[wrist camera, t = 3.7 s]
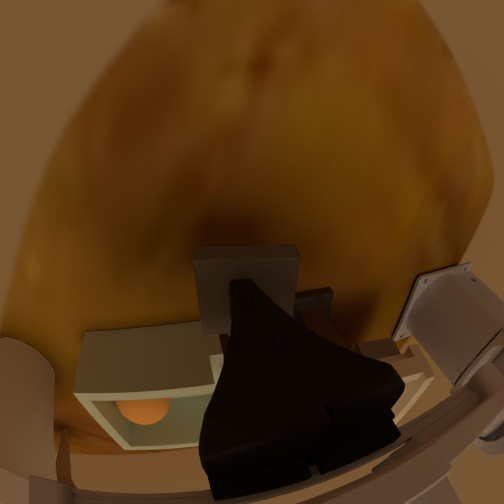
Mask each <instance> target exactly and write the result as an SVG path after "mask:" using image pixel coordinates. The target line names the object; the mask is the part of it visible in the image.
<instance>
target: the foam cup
mask: <svg viewBox="0 0 504 504" xmlns="http://www.w3.org/2000/svg"><path fill="white" fill-rule="evenodd" d="M54 381H55V371H54V369H53V368H52V366H51V365H50V363H49V361H48V360H47V359H46V358H45V357H44V356H42V355H41V354H40V353H39V352H38V351H37V350H36V349H34V348H33V347H31V346H29V345H27V344H25V343H24V342H22V341H20V340H16V339H12V338H9V337H4V338H0V504H29V476H30V475H33V476H38V477H42V478H47V479H51V480H56V481H57V474H56V463H55V450H54V387H55V384H54Z"/></svg>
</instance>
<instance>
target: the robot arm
mask: <svg viewBox="0 0 504 504" xmlns="http://www.w3.org/2000/svg"><path fill="white" fill-rule="evenodd" d="M471 268H472V263H471V262H467V263H464V264H460V265H456V266H453V267H449V268H446V269H442V270H439V271H435V272H431V273H427V274H424V275H420V276H419V277H418V278H417V280H416V282H415V285H414V288H413V290H412V293H411V295H410V298H409V300H408V303H407V305H406V308H405V310H404V312H403V315H402V317H401V319H400V322H399V324H398V326H397V328H396V330H395V333H394V335H393V337H392V338H393V340H394V341H398V340H400V339H403V338H405V337H408V336H410V335H413V336H414V337H415V338H416V339H417V341H418V342H419V343H420V344H421V346H422V347H423V348H424V349H425V351H426V352H427V353H428V354H429V356H430V357H431V358H432V359H433V360H434V362H435V363H436V364H437V366H438V367H439V368H440V369H441V371H442V372H443V373H444V374H445V376H446V377H447V378H448V380H449V381H450V382H451V384H452V385H453V386H454V387H453V388H452V389H451V390H450V393H451V395H450V396H449V397H447V398H446V399H445V400H443V401H442V402H440V403H439V404H438V405H436V406H434V407H433V408H431V409H429V410H428V411H426V412H425V413H423V414H422V415H420V416H418V417H417V418H415V419H413V420H411V421H410V422H408V423H406V424H404V425H403V426H401V427H399V428H397V426H396V425H395V423H394V421H393V420H392V419H394V418H395V414H394V413H393V411H392V410H391V408H392V407H393V406H394V405H395V403H396V402H397V401H398V399H399V398H400V397H401V395H402V394H403V392H404V389H405V383H404V381H403V380H402V378H401V377H400V375H399V374H398V372H397V371H396V370H395V368H394V367H393V366H392V365H391V364H390V363H386V362H383V361H379V360H376V359H373V358H369V357H366V356H363V355H361V354H358V353H356V352H353V351H350V350H348V349H346V348H344V347H341V346H339V345H337V344H335V343H333V342H331V341H329V340H327V339H325V338H323V337H322V336H320V335H318V334H316V333H315V332H313V331H312V330H310V329H308V328H307V327H305V326H304V325H302V324H301V323H300V322H298V321H297V320H296V319H294V318H293V317H292V316H290V315H289V314H288V313H287V312H285V311H284V310H283V309H282V308H281V307H280V306H278V305H277V304H276V303H275V302H274V301H273V300H272V299H271V298H269V297H268V296H267V295H266V294H265V293H264V292H263V291H262V290H261V289H260V288H259V287H258V286H257V285H256V284H255V283H254V282H253V281H252V280H251V279H250V278H249V279H239V280H232V281H231V282H230V283H229V299H230V317H231V330H230V337H229V342H228V347H227V352H226V355H225V359H224V363H223V367H222V370H221V373H220V376H219V379H218V382H217V384H216V387H215V390H214V392H213V395H212V397H211V400H210V402H209V404H208V406H207V408H206V411H205V413H204V417H203V422H202V427H201V432H200V437H199V446H198V448H199V456H200V460H201V464H202V467H203V469H204V471H205V473H206V474H207V476H208V480H209V483H210V488H211V489H209V490H202V491H191V492H180V493H160V494H130V493H110V492H99V491H90V490H82V489H75V488H70V487H69V486H68V485H66V484H64V483H62V482H59V481H56V480H51V479H47V478H42V477H38V476H33V475H30V476H29V504H247V503H252V502H256V501H261V500H265V499H269V498H273V497H277V496H281V495H285V494H288V493H292V492H294V491H298V490H301V489H304V488H307V487H310V486H313V485H316V484H319V483H322V482H325V481H327V480H330V479H332V478H335V477H337V476H340V475H342V474H345V473H347V472H349V471H352V470H354V469H356V468H358V467H361V466H363V465H365V464H367V463H369V462H371V461H373V460H375V459H377V458H379V457H381V456H383V455H385V454H387V453H389V452H390V451H392V450H394V449H396V448H398V447H400V446H401V445H403V444H405V445H404V446H402V447H401V448H399V449H398V450H396V451H394V452H393V453H392V454H390V456H389V457H388V458H386V459H385V460H384V461H383V462H381V463H380V464H378V465H377V466H376V467H374V468H373V469H372V473H370V474H368V475H366V476H364V477H362V478H360V479H358V480H355V481H353V482H351V483H348V484H346V485H344V486H342V487H339V488H337V489H334V490H332V491H329V492H327V493H324V494H322V495H319V496H317V497H314V498H311V499H308V500H305V501H303V502H300V503H297V504H462V503H461V501H460V500H459V498H458V496H457V494H456V493H455V491H454V489H453V487H452V486H451V484H450V482H449V480H448V479H447V477H446V476H447V475H448V474H450V472H451V470H452V465H451V463H453V462H454V461H455V460H456V459H457V458H458V457H459V456H460V455H461V454H462V453H463V452H465V451H466V450H467V449H468V448H469V447H470V446H471V445H472V444H473V443H474V444H475V445H476V446H477V447H478V448H479V449H480V450H481V451H482V452H483V453H485V455H486V456H489V457H491V456H499V455H504V301H503V300H502V299H501V298H500V297H499V296H498V295H497V294H495V293H494V292H493V291H492V290H491V289H490V288H489V287H487V286H486V285H485V284H484V283H483V282H482V281H481V280H480V279H478V278H477V277H476V276H475V275H474V274H473V273H471V272H470V270H471Z"/></svg>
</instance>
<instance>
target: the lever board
mask: <svg viewBox="0 0 504 504" xmlns="http://www.w3.org/2000/svg"><path fill="white" fill-rule="evenodd" d="M299 259H300V256H299V254H298V252H297V249H296V247H295V244H284V245H241V246H203V247H196V248H195V253H194V259H193V262H194V271H195V279H196V287H197V295H198V303H199V310H200V317H201V324H202V331H203V334H229V337H230V330H231V317H230V299H229V283H230V282H231V281H232V280H239V279H249V278H250V279H251V280H252V281H253V282H254V283H255V284H256V285H257V286H258V287H259V288H260V289H261V290H262V291H263V292H264V293H265V294H266V295H267V296H268V297H269V298H271V299H272V300H273V301H274V302H275V303H276V304H277V305H278V306H280V307H281V308H282V309H283V310H284V311H285V312H287V313H288V314H289V315H290V316H292V313H293V306H294V299H295V291H296V284H297V276H298V268H299ZM354 352H356V353H358V354H361V355H363V356H366V357H369V358H373V359H376V360H379V361H383V362H386V363H390V364H391V365H392V366H393V367H394V368H395V370H396V371H397V372H398V374H399V375H400V377H401V378H402V380H403V381H404V383H405V389H404V392H403V394H402V395H401V397H400V398H399V399H398V401H397V402H396V403H395V405H394V406H393V407H392V408H391V410H392V411H393V413H394V414H395V418H394V419H392V420H393V421H394V423H395V425H396V423H397V422H398V421H399V420H400V419H401V418H402V417H403V416H404V415H405V413H406V412H407V411H408V410H409V409H410V407H411V406H412V405H413V404H414V403H415V402H416V400H417V399H418V398H419V397H420V396H421V394H422V393H423V392H424V390H425V389H426V388H427V387H428V385H429V384H430V383H431V381H432V380H433V379H434V377H435V374H434V372H433V371H432V369H431V367H430V365H429V363H428V361H427V360H426V358H425V356H424V355H423V353H422V351H421V349H420V348H419V346H418V344H414V345H410V346H408V348H407V350H406V351H405V353H404V354H401V353H400V351H399V350H398V348H397V346H396V344H395V342H394V340H393V338H386V339H381V340H375V341H368V342H362V343H357V345H356V348H355V350H354Z"/></svg>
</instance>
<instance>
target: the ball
mask: <svg viewBox="0 0 504 504" xmlns="http://www.w3.org/2000/svg"><path fill="white" fill-rule="evenodd" d="M115 402H116V405H117V407H118V409H119V411H120V412H121V413H122V415H123V416H124V417H126V418H127V419H128V420H130V421H132V422H134V423H137V424H141V425H149V424H154V423H156V422H158V421H160V420H161V419H162V418H163V417H164V416H165V415H166V414H167V412H168V410H169V407H170V397H167V398H155V399H140V400H115Z"/></svg>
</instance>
